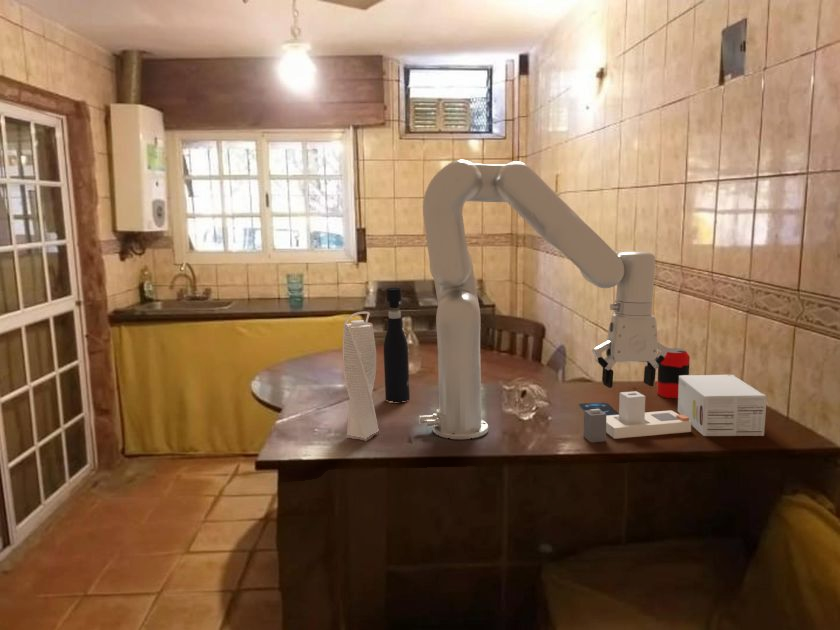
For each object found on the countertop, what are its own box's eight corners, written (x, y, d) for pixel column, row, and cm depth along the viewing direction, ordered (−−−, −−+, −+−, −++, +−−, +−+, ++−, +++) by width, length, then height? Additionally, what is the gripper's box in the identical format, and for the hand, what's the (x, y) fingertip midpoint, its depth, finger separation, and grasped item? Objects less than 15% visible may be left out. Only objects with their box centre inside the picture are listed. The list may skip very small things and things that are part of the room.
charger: (627, 432, 141) (628, 397, 139) (618, 426, 144) (619, 392, 143) (644, 431, 141) (645, 395, 140) (635, 425, 145) (636, 390, 144)
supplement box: (676, 412, 155) (677, 374, 153) (731, 411, 154) (734, 374, 152) (702, 437, 138) (704, 395, 137) (765, 436, 137) (767, 394, 136)
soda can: (679, 401, 163) (681, 355, 161) (651, 395, 168) (653, 350, 166) (693, 394, 168) (695, 350, 166) (665, 389, 173) (667, 346, 171)
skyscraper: (359, 428, 150) (353, 310, 145) (386, 432, 146) (382, 311, 141) (339, 439, 143) (333, 315, 138) (368, 444, 139) (362, 317, 135)
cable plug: (590, 442, 136) (591, 412, 135) (583, 436, 140) (584, 407, 139) (605, 441, 137) (606, 411, 136) (598, 435, 140) (599, 406, 139)
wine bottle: (383, 398, 172) (378, 287, 168) (405, 395, 174) (402, 286, 169) (389, 404, 166) (384, 290, 161) (412, 402, 168) (409, 289, 163)
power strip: (614, 438, 138) (614, 425, 137) (598, 426, 146) (598, 413, 145) (690, 431, 141) (691, 418, 140) (671, 420, 149) (671, 407, 148)
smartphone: (607, 402, 163) (627, 421, 148) (607, 404, 163) (627, 423, 148) (577, 403, 163) (594, 422, 148) (577, 405, 163) (594, 424, 148)
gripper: (603, 312, 133) (598, 391, 136) (679, 311, 136) (673, 388, 139) (588, 306, 141) (584, 382, 143) (661, 305, 143) (655, 379, 146)
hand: (628, 385), depth 141 cm, fingers open, 9 cm apart
